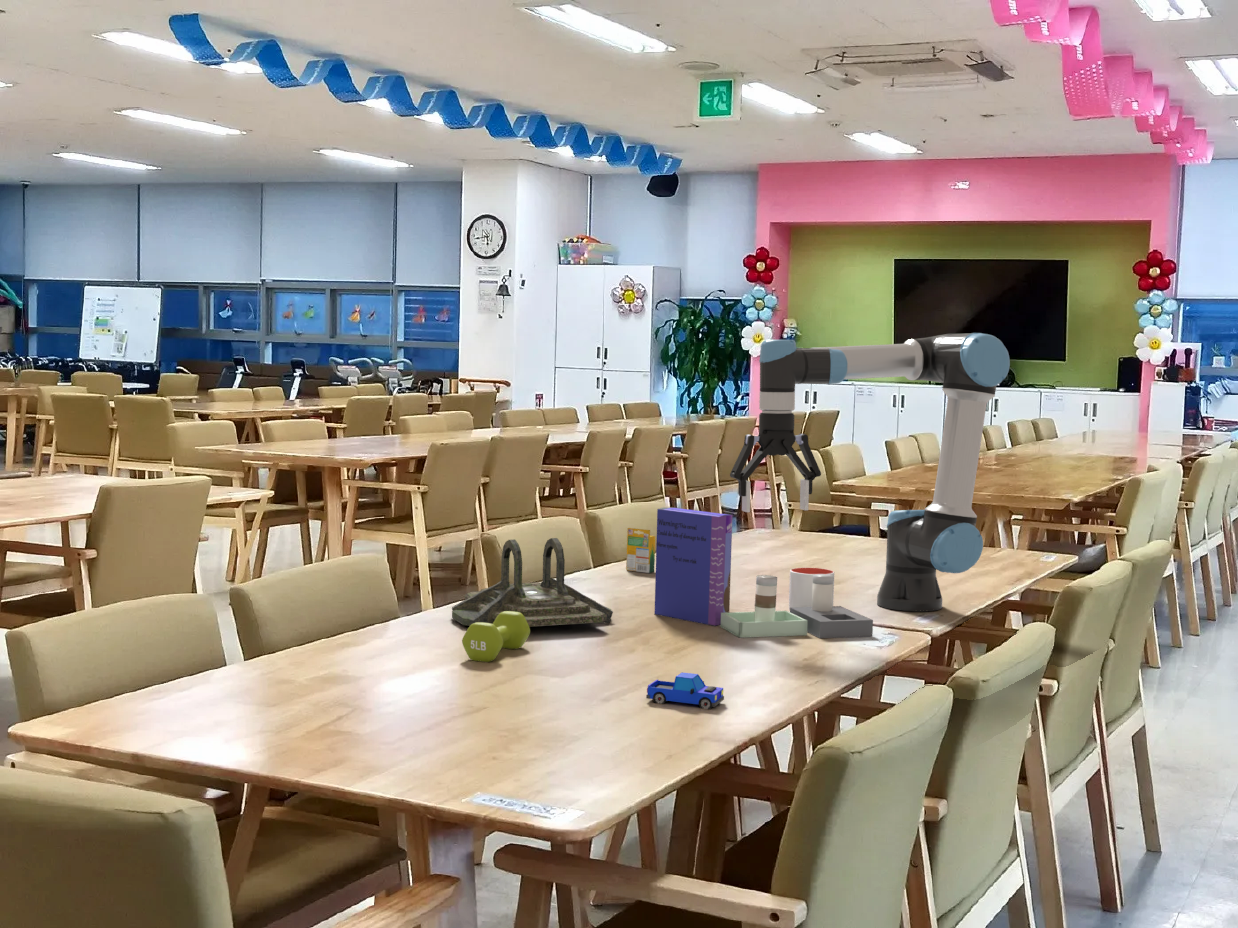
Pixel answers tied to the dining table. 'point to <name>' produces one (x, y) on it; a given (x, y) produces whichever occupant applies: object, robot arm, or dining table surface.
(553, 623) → the metal base with loops
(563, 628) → the dining table surface
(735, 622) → the parts tray
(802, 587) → the cup
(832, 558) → the dining table surface
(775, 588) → the cylinder
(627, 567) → the crayon box
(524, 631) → the dumbbell
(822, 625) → the fuse holder block
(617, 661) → the dining table surface
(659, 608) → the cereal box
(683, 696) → the toy car
